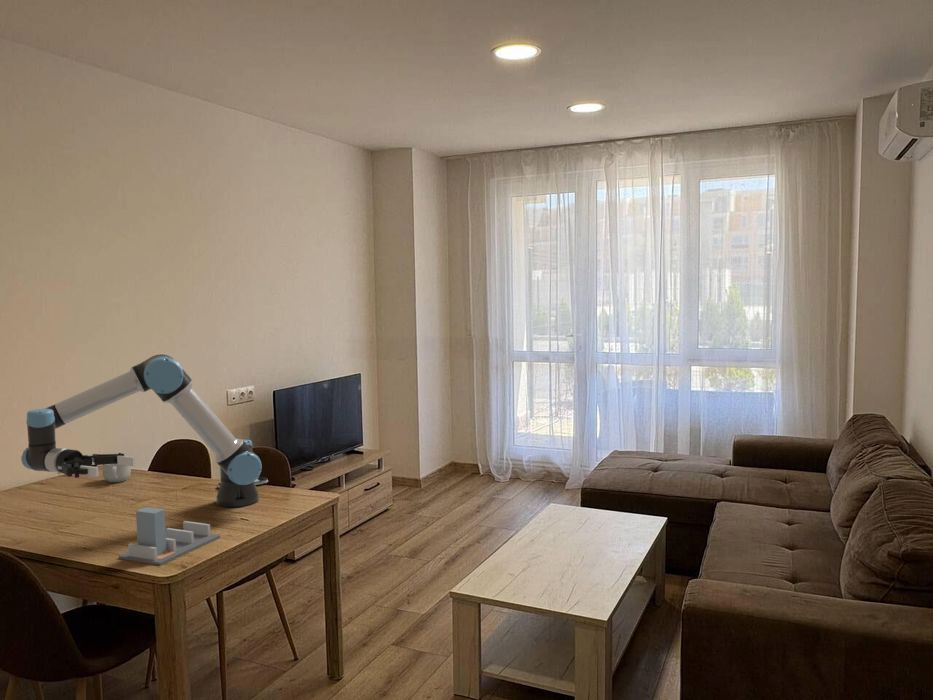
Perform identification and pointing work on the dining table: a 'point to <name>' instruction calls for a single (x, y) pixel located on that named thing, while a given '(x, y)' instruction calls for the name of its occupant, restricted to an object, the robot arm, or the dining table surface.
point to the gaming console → (257, 481)
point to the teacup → (116, 472)
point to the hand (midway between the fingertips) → (116, 466)
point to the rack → (172, 544)
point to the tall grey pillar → (151, 528)
